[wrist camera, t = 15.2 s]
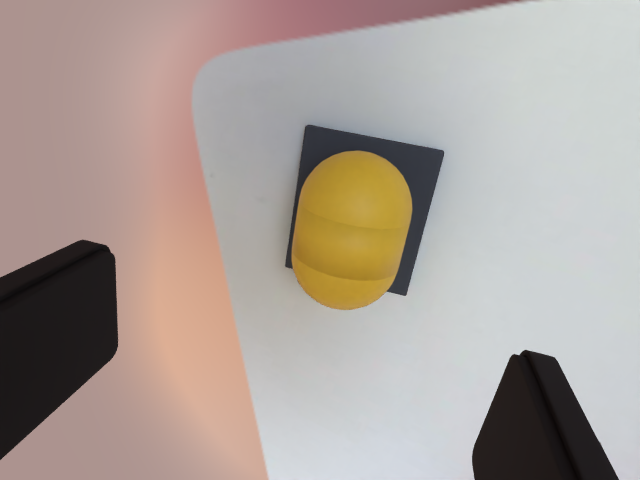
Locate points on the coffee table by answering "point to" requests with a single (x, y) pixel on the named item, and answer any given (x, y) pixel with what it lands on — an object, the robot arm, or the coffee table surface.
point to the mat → (407, 158)
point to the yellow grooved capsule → (350, 229)
